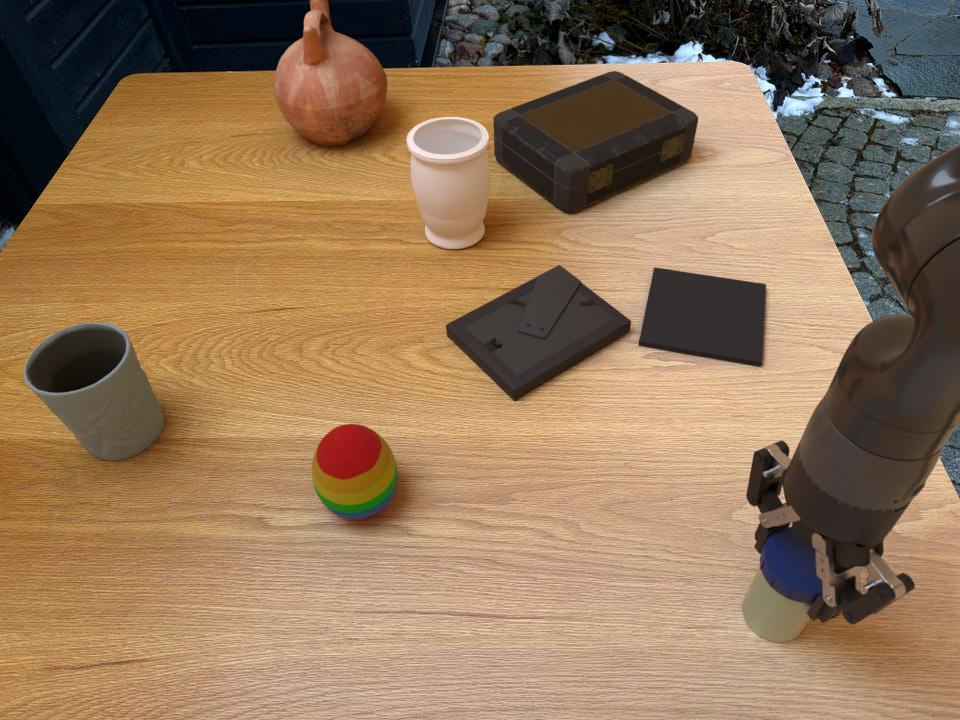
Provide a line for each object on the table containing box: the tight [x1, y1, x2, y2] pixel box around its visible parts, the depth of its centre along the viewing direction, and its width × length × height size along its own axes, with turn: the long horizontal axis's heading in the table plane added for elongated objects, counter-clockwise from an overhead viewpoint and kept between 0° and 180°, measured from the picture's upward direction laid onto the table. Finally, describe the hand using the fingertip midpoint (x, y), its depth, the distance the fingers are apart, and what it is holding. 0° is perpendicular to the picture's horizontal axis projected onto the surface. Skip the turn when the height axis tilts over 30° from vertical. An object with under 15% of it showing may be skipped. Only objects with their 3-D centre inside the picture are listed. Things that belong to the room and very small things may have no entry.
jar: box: [406, 116, 492, 250], centre depth 100 cm, size 11×10×15 cm
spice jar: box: [741, 566, 813, 643], centre depth 62 cm, size 5×5×9 cm
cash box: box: [493, 70, 699, 213], centre depth 114 cm, size 25×20×8 cm
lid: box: [759, 526, 822, 604], centre depth 59 cm, size 6×6×2 cm
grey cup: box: [23, 321, 165, 462], centre depth 78 cm, size 10×10×12 cm
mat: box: [638, 267, 767, 368], centre depth 91 cm, size 14×14×1 cm
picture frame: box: [445, 264, 632, 402], centre depth 90 cm, size 13×2×18 cm
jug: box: [272, 0, 388, 147], centre depth 119 cm, size 18×18×20 cm
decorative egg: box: [311, 423, 399, 520], centre depth 72 cm, size 8×8×10 cm
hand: (792, 579), depth 61 cm, fingers closed on lid, 5 cm apart
